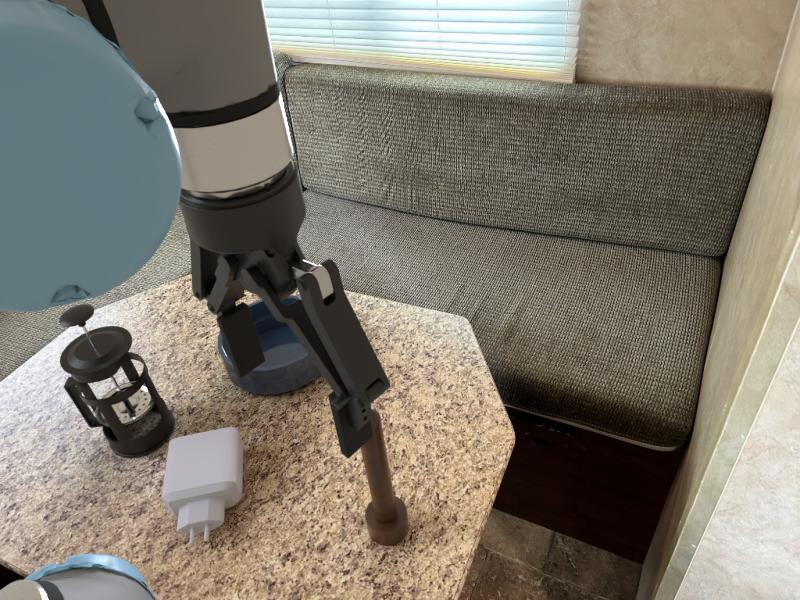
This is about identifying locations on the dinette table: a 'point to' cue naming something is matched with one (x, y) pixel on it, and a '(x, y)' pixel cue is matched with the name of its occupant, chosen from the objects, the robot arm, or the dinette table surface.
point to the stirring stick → (382, 491)
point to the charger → (203, 479)
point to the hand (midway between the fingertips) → (300, 403)
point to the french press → (125, 403)
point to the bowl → (273, 355)
